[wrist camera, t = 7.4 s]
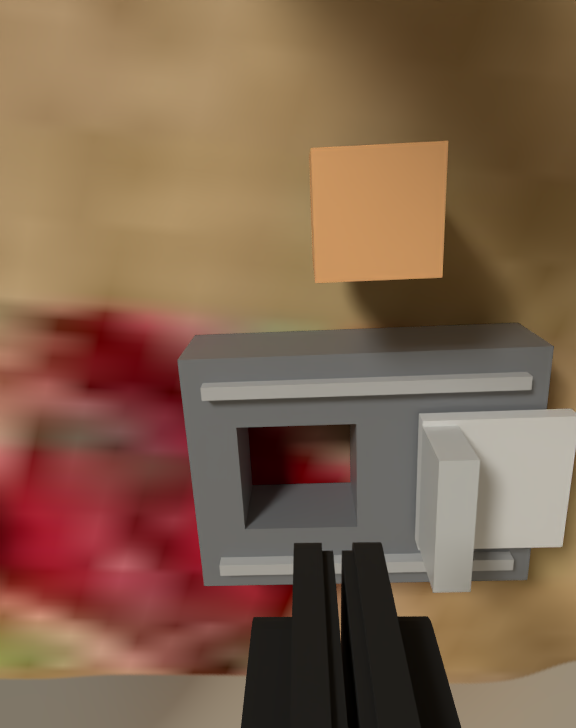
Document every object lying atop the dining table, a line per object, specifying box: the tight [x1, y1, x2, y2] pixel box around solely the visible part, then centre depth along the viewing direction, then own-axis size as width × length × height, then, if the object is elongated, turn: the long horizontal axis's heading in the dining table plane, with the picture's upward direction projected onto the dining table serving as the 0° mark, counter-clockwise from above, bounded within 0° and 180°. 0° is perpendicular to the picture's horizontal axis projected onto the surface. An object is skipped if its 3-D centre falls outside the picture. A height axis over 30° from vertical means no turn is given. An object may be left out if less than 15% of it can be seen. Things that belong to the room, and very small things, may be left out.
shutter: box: [415, 409, 576, 593], centre depth 23 cm, size 6×6×4 cm
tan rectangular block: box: [309, 141, 448, 283], centre depth 21 cm, size 4×4×9 cm
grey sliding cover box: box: [178, 323, 554, 586], centre depth 27 cm, size 12×16×5 cm
